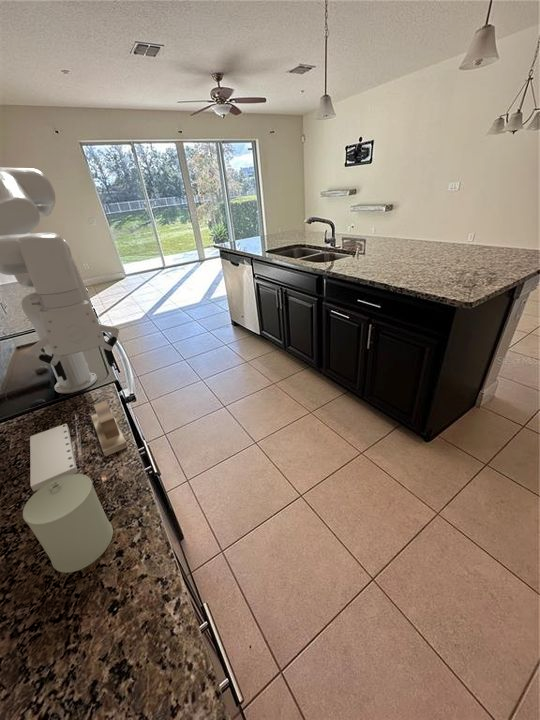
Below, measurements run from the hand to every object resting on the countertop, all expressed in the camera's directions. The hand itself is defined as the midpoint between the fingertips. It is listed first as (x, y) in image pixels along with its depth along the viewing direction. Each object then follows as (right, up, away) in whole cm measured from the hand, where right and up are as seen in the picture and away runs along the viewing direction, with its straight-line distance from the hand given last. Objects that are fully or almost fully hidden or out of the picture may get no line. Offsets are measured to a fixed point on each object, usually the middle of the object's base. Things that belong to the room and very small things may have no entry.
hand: (88, 371), depth 70 cm
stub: (+1, -16, +7) cm, 18 cm away
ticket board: (-9, -20, +1) cm, 22 cm away
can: (+11, -29, -19) cm, 36 cm away
